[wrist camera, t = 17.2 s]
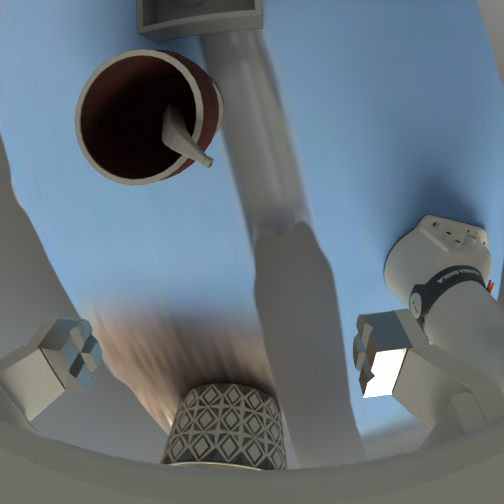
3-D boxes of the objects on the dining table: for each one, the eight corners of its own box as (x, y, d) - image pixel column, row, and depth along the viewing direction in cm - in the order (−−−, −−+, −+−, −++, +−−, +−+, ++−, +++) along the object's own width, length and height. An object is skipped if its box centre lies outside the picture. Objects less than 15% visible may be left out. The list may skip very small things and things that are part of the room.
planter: (190, 429, 74) (178, 498, 54) (163, 369, 62) (137, 454, 43) (286, 429, 72) (288, 502, 53) (285, 367, 61) (290, 462, 41)
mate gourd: (120, 134, 41) (37, 162, 23) (161, 50, 35) (91, 20, 17) (210, 179, 44) (174, 236, 26) (258, 95, 38) (256, 87, 21)
